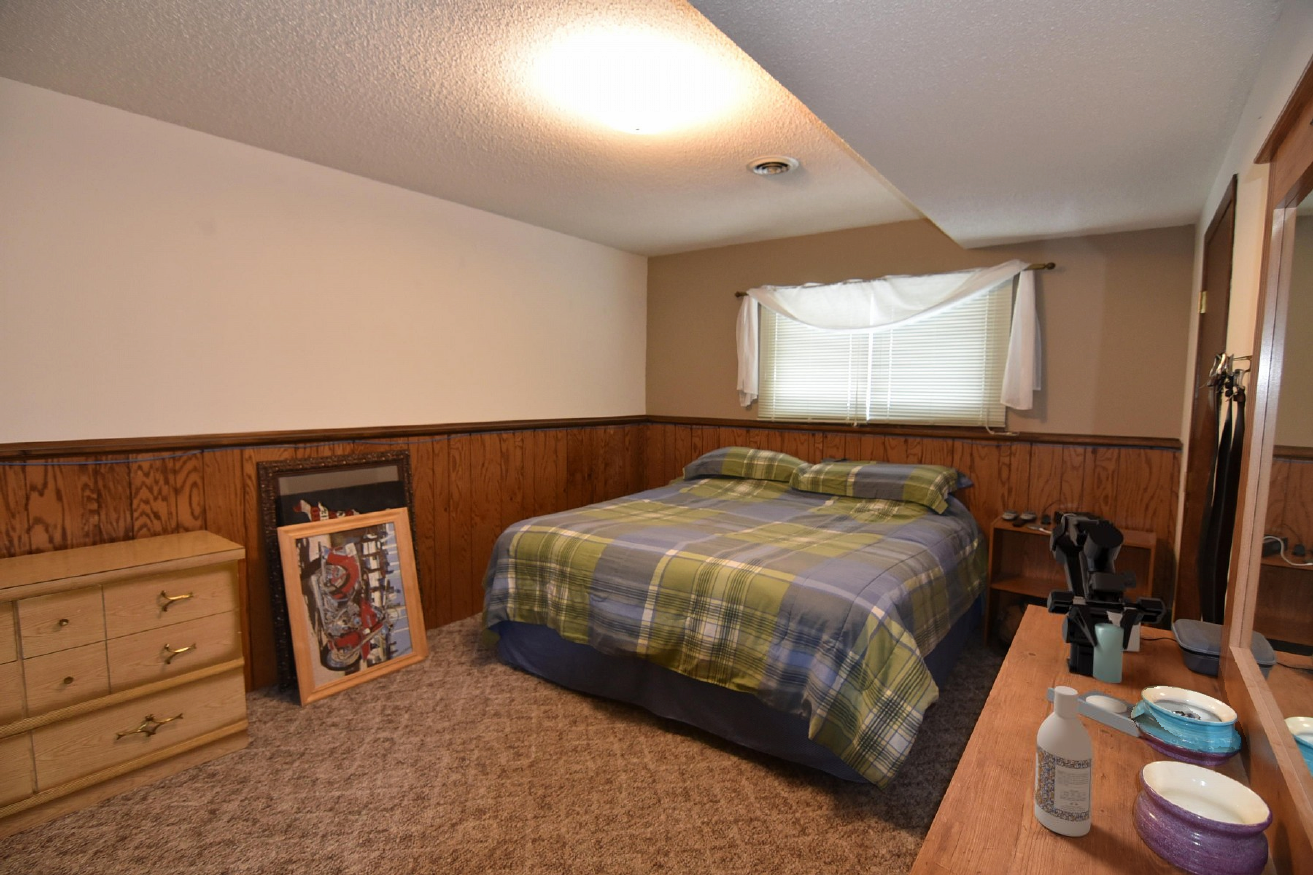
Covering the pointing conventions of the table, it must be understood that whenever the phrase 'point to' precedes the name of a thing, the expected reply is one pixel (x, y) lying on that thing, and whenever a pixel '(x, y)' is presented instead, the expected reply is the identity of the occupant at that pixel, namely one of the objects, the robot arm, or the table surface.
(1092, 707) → the low wall
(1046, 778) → the bath foam
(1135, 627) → the medicine bottle
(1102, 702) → the mat
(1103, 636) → the teal canister
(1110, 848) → the table surface
